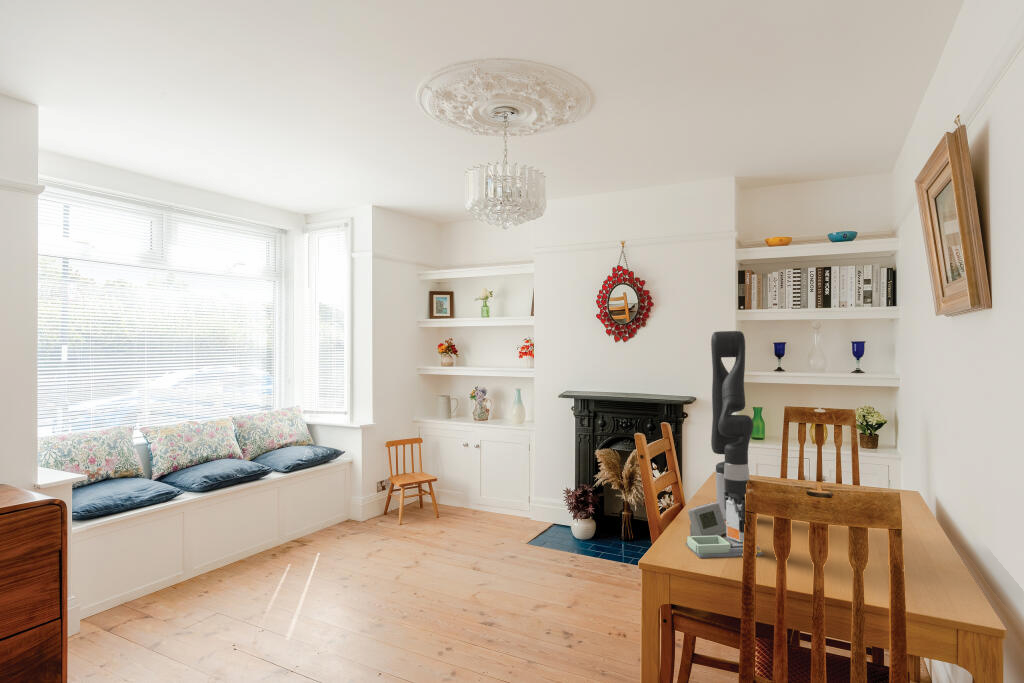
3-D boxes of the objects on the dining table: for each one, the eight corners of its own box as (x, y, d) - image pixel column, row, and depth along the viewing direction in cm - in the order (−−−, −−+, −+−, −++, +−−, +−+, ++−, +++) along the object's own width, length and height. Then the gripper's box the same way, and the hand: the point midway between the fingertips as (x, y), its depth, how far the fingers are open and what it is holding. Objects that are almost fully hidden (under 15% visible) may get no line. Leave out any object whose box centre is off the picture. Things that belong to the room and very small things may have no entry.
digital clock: (698, 544, 191) (697, 512, 192) (679, 536, 200) (679, 505, 200) (735, 537, 198) (734, 506, 198) (715, 529, 206) (715, 499, 207)
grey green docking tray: (684, 545, 191) (684, 535, 191) (745, 542, 192) (745, 532, 192) (699, 558, 179) (699, 547, 179) (763, 555, 180) (763, 545, 180)
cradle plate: (723, 539, 189) (723, 537, 189) (743, 539, 189) (742, 536, 189) (732, 546, 182) (732, 544, 182) (752, 545, 183) (752, 543, 183)
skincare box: (725, 537, 188) (725, 500, 188) (735, 535, 189) (735, 498, 190) (740, 542, 182) (739, 504, 182) (750, 540, 184) (749, 502, 184)
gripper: (758, 481, 179) (759, 535, 179) (737, 471, 193) (738, 521, 193) (735, 482, 179) (736, 536, 178) (715, 472, 193) (716, 522, 193)
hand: (737, 528), depth 186 cm, fingers closed on skincare box, 7 cm apart
